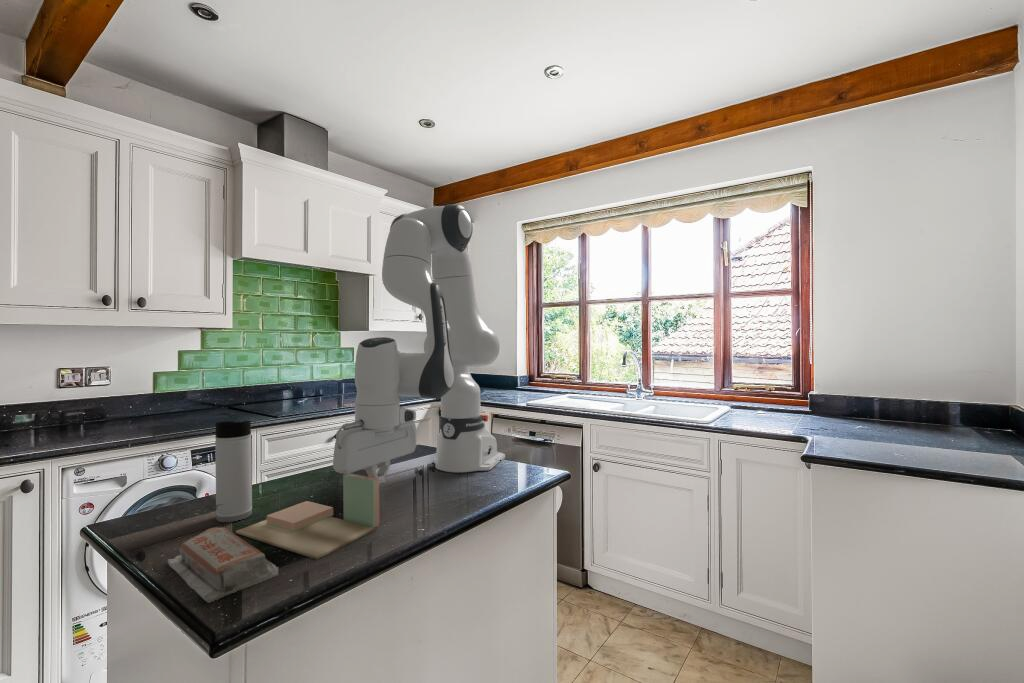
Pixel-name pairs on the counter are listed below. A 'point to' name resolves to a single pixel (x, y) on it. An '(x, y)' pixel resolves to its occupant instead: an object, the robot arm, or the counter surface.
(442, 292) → the robot arm
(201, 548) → the packaged product
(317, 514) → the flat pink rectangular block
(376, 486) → the pink and green block
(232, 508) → the travel mug
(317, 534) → the cork mat
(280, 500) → the counter surface
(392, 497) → the counter surface
